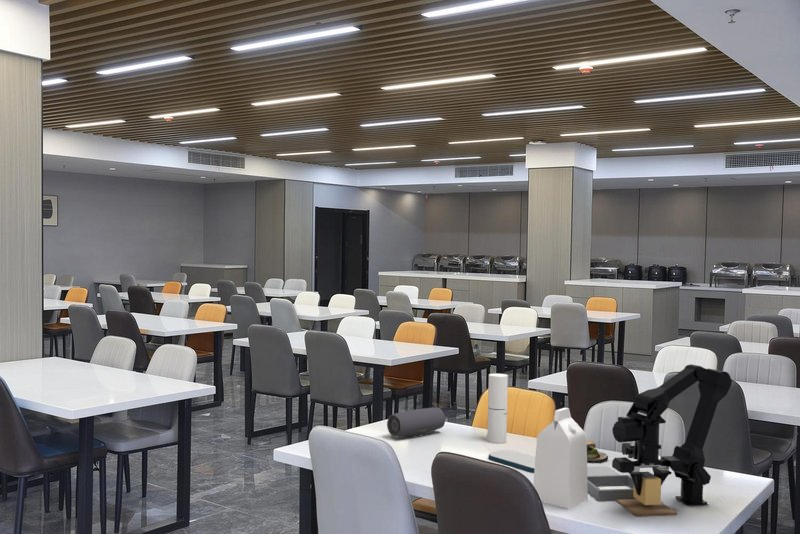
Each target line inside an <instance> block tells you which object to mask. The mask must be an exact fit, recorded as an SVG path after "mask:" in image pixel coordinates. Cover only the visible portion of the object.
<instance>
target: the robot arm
mask: <svg viewBox="0 0 800 534" xmlns="http://www.w3.org/2000/svg"><path fill="white" fill-rule="evenodd" d="M731 377H732V376H731V375H730V373H728V372H727V371H724V370H717V369H713V368H705V367H703V366H701V365H696V364H687V365H686V366H685V367H684V368H683V369H682V370H680V371H678V373H677V374H675V375H673V376H672V377H670V378H669V379H668V380H667V381H665V382H664V383H662V384H661V385H660V386H658V387H656V388H651V389H647V390H644V391H643V392H640V393H638V394H637V395H636V396H635V398H634V402H633V403H632V404H631V407H630V408H629V410H627V411H628V412H627V413H626V416H618V417H617V421H615V422H614V423H613V424H614V425H613V427H612V435H613V438H614V439H615V440H616V442H618V443H621V454H622V455H624V456H626V455H627V457H624V456H623V457H614V458H613V459H612V460H611V461H612V462H611V467H612V468H613V469H615V470H616V471H618V473H622V474H626V473H627V474H628V475H630V476H631V478H632V480H633V483H634V486H635V489H636V492H637V495H639V496H640V494H641V487H642V475H643V474H642V473H641V472H642V471H641V470H640V469H644V468H650V469H652V472H653V473H652V474H653V475H655V476H656V477H658V478H660V479H661V487H662V485H663V484H664V483H665V481H666V479H667V478H668V477H669V476H670V475H672V472H673V473H674V476H675V477H676V478H678V479H680V495H676V496H675V499H677V500H678V501H680V502H681V503H683V504H685V506H699V505H708V502H707V501H705V500H704V496H703V495H704V486H706V485H708V484H710V481H711V480H712V479H711V478H712V475H710V473H708V471H707V470H706V469H705V461H706V459H705V454H704V451H703V450H704V446H705V443H706V441H707V436H708V434H709V431H710V427H711V425H712V422H713V419H714V416H715V413H716V411H717V406H718V403H719V402H720V401H721V400H723V399H724V398H725V397H726V396H727V394H728V393H729V390H730V389H731V386H732V383H733V379H732V378H731ZM697 382H698V385H697V387H698V392H699V395H700V396H699V400H698V402H697V405H696V408H695V412H694V414H693V418H692V421H691V423H690V426H689V430H688V431H687V435H686V439H685V442H684V443H682V445H681V446H678V445H675V447H674V449H673V453H672V455H670V456H669V455H667V456H666V455H664V456H660V455H659V453H660V450H662V445H661V444H659V443H660V424H666V422H667V421H666V420H665V419H664V418H663V417H662V416H661V415H663V413H664V412H665V411H666V410H667V409H668V408H669V405H670V402H671V401H672V400H674V399H675V398H676V397H678V396H680V395H681V394H682V393H683V392H685V391H686V390H687V389H689V388H691V387H692V386H693V385H694V384H696V383H697ZM631 442H634V445H631ZM659 456H660V457H661V458H660V459H659ZM631 459H633V460H631ZM641 464H642V465H641ZM670 469H671V471H670Z"/></svg>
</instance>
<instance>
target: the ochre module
mask: <svg viewBox="0 0 800 534" xmlns="http://www.w3.org/2000/svg"><path fill="white" fill-rule="evenodd" d="M640 472H641V473H642V474H643V475H642V487H641V494H640V496H639V495H637V492H636V489H635V486H634V490H633V497H634V498H636V499H637V500H639V501H640V502H642V503H643V504H644V505H661V502H662V501H661V500H662V499H661V497H662V495H661V494H662V486H661V479H660V478H658V477H656V476H655V475H654V473H651V472H650V471H640Z"/></svg>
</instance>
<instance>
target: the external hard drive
mask: <svg viewBox="0 0 800 534" xmlns="http://www.w3.org/2000/svg"><path fill="white" fill-rule="evenodd" d="M535 457H536V456H534V455H529V454H527V453H526V454H525V453H523V452H519V451H514V450H510V449H502V450H498V451H497V450H496V451H493V452H489V453H488V459H489V460H490V461H491V462H495V463H498V464H502V465H506V466H509V467H512V468H514V469H515V468H516V469H518V470H522V471H525V472H529V473H532V474H534V470H535Z"/></svg>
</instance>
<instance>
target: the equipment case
mask: <svg viewBox="0 0 800 534" xmlns="http://www.w3.org/2000/svg"><path fill="white" fill-rule="evenodd" d="M618 486H620V487H621V486H623V487H624V486H627V487H629V488H606V489H605V488H604V489H603V488H602V489H601V488H599V487H618ZM587 488H588V495H591V497H593V498H594V499H595V500H597V501H598V502H610V501H611V502H612V501H615V502H617V500H621V499H636V498H634V497H633V490H634V483H633V480H632V478H631V476H630V474H619V472H616V471H615V470H613V469H612V468H610V467H609V466H607V465H606V466H605V465H603V466H602V465H600V466H595V465H594V466H587Z"/></svg>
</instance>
